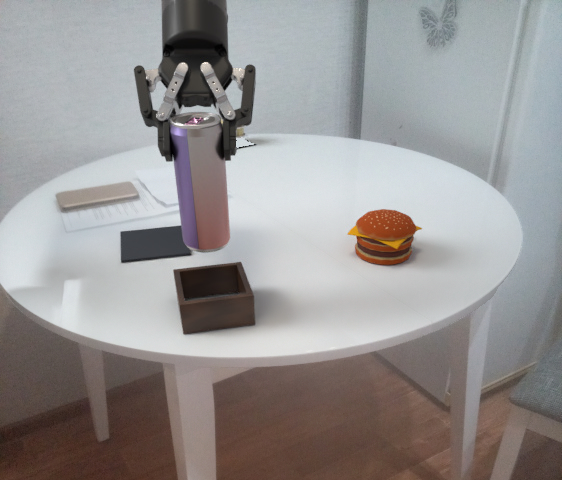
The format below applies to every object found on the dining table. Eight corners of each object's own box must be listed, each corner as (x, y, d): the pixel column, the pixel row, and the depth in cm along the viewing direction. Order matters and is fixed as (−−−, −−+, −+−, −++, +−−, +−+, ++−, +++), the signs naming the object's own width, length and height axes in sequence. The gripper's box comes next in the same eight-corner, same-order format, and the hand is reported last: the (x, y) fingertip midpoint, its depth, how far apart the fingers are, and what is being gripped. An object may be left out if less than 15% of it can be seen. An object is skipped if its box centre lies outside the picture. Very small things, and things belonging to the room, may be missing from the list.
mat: (121, 262, 89) (120, 260, 88) (120, 233, 97) (120, 231, 97) (190, 255, 90) (190, 252, 90) (184, 227, 99) (184, 225, 99)
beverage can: (176, 251, 70) (159, 123, 60) (193, 231, 74) (180, 109, 65) (221, 256, 68) (212, 127, 59) (236, 236, 73) (229, 113, 64)
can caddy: (183, 334, 73) (179, 305, 70) (177, 297, 80) (173, 269, 77) (255, 324, 75) (254, 295, 72) (242, 289, 82) (241, 261, 79)
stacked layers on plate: (221, 152, 131) (219, 127, 127) (203, 142, 137) (201, 118, 133) (257, 144, 135) (256, 120, 132) (238, 135, 141) (237, 112, 138)
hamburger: (343, 256, 90) (346, 217, 86) (371, 235, 96) (374, 197, 92) (397, 272, 86) (402, 231, 81) (422, 249, 92) (428, 210, 88)
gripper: (124, -6, 60) (125, 141, 59) (256, -7, 61) (262, 139, 59) (139, 42, 68) (140, 174, 66) (257, 41, 69) (261, 172, 67)
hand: (198, 157), depth 63 cm, fingers closed on beverage can, 6 cm apart
